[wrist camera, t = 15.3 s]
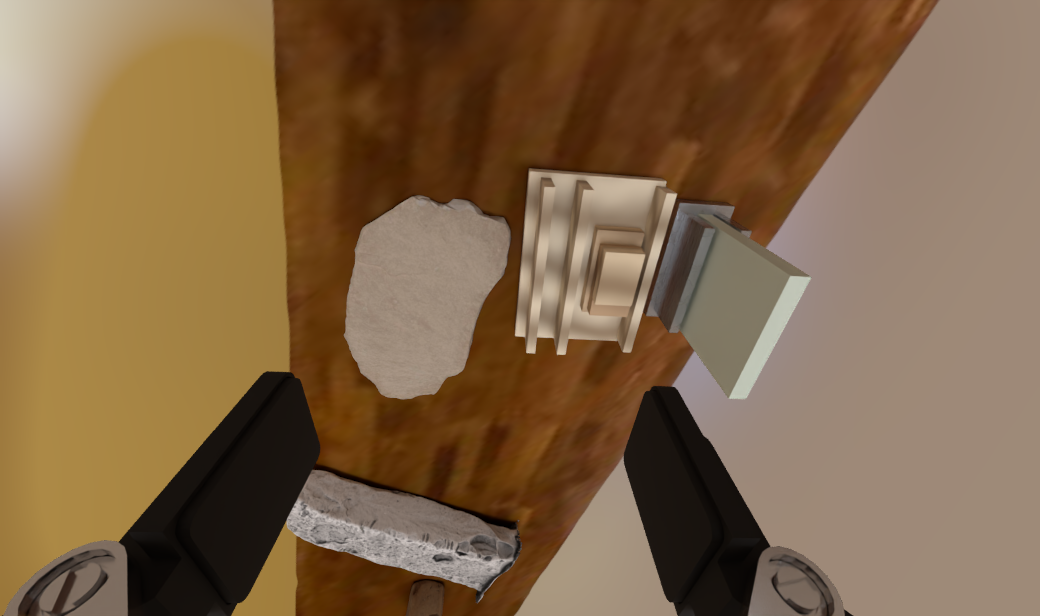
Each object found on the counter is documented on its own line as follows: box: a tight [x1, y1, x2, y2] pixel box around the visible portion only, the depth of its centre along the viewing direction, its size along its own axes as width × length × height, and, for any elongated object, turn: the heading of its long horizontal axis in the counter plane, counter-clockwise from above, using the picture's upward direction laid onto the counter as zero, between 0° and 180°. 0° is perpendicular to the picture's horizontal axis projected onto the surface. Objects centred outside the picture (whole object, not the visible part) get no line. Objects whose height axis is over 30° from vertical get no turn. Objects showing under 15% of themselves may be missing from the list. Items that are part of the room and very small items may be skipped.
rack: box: [515, 168, 677, 355], centre depth 41 cm, size 20×14×6 cm
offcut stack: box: [580, 225, 646, 317], centre depth 40 cm, size 10×5×4 cm, turn 176°
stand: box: [643, 199, 752, 333], centre depth 41 cm, size 14×6×6 cm, turn 176°
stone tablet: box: [344, 195, 511, 399], centre depth 45 cm, size 16×30×2 cm, turn 157°
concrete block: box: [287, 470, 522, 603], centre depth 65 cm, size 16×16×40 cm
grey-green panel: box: [679, 214, 811, 399], centre depth 36 cm, size 12×2×15 cm, turn 176°
